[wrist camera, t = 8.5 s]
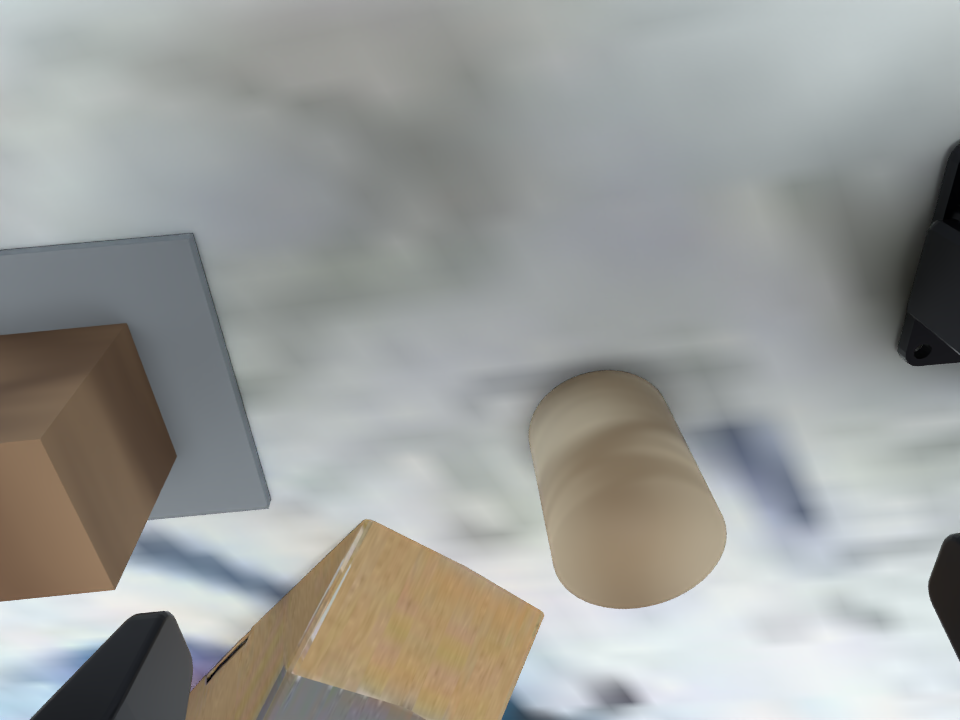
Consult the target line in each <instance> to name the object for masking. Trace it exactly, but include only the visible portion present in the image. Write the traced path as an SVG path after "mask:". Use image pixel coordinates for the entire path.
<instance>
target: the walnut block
mask: <svg viewBox="0 0 960 720" xmlns="http://www.w3.org/2000/svg"><path fill="white" fill-rule="evenodd" d="M176 458H177V455H176V452H175V449H174V447H173V444H172V441H171V439H170V436H169V433H168V431H167V428H166V425H165V423H164V420H163V418H162V415H161V412H160V410H159V407H158V404H157V402H156V399H155V396H154V394H153V391H152V388H151V386H150V383H149V380H148V378H147V375H146V373H145V370H144V367H143V365H142V362H141V359H140V357H139V354H138V351H137V349H136V346H135V343H134V341H133V338H132V335H131V333H130V330H129V328H128V325H127V323H121V324H111V325H101V326H90V327H80V328H70V329H59V330H49V331H39V332H28V333H18V334H8V335H0V602H1V601H11V600H20V599H30V598H40V597H50V596H60V595H69V594H79V593H89V592H99V591H108V590H115V589H116V586H117V584H118V582H119V580H120V578H121V576H122V574H123V571H124V569H125V567H126V565H127V563H128V561H129V559H130V556H131V554H132V552H133V550H134V548H135V546H136V544H137V541H138V539H139V537H140V535H141V533H142V531H143V529H144V526H145V524H146V522H147V520H148V518H149V516H150V514H151V511H152V509H153V507H154V505H155V503H156V501H157V499H158V496H159V494H160V492H161V490H162V488H163V486H164V484H165V481H166V479H167V477H168V475H169V473H170V471H171V468H172V466H173V464H174V462H175V460H176Z"/></svg>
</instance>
